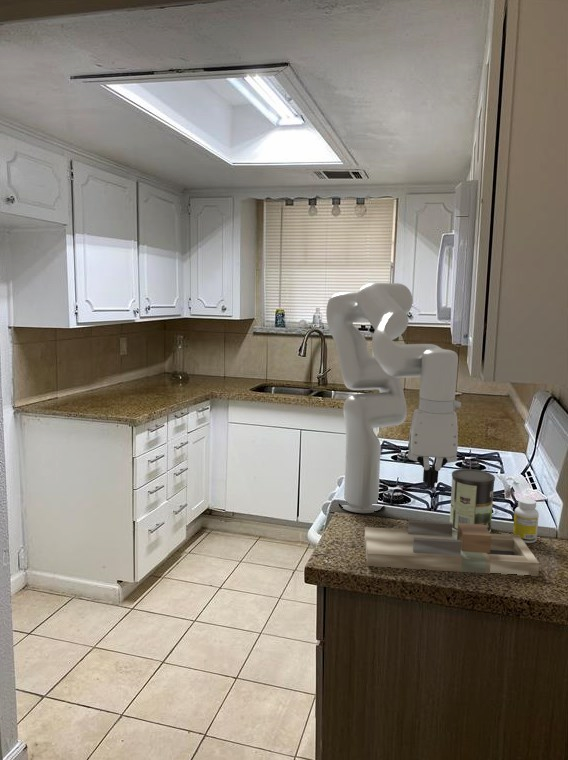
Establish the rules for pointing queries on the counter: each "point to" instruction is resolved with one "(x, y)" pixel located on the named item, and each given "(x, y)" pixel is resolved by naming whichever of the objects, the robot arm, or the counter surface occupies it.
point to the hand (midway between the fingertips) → (429, 485)
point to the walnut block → (474, 538)
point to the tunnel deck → (445, 550)
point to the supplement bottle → (526, 520)
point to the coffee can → (471, 498)
